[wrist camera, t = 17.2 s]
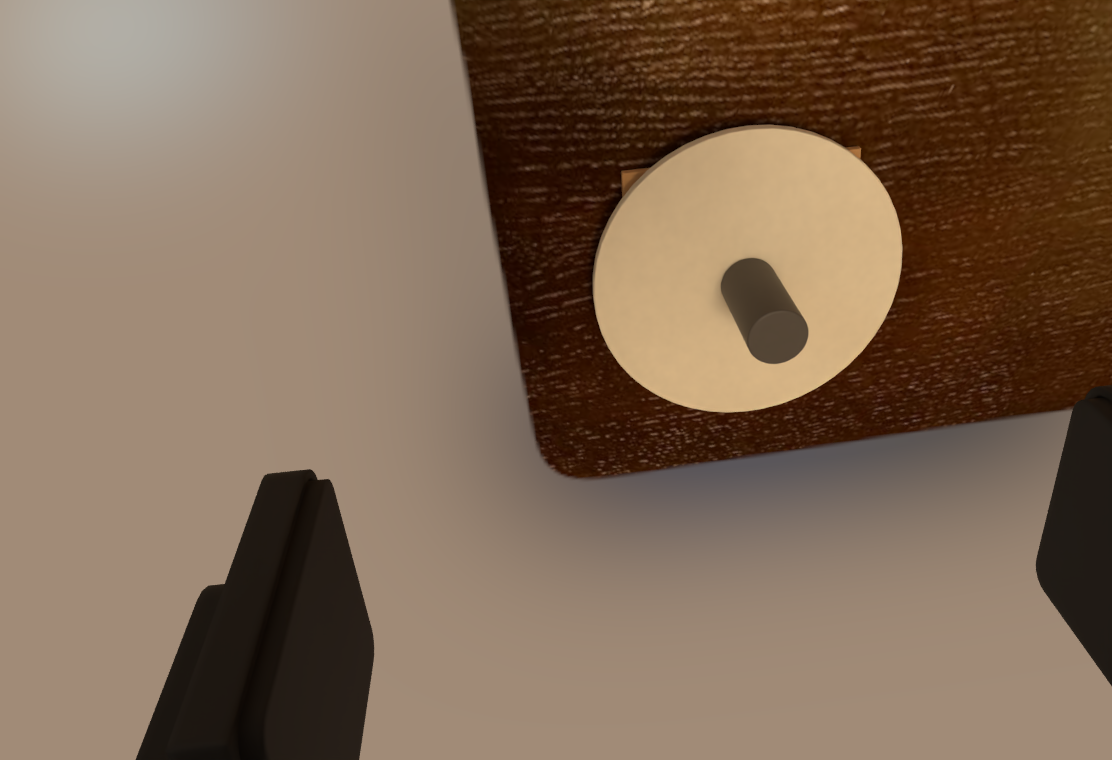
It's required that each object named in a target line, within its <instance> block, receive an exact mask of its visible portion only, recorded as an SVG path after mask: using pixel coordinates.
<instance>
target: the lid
mask: <svg viewBox="0 0 1112 760" xmlns="http://www.w3.org/2000/svg"><path fill="white" fill-rule="evenodd" d="M901 267H902V239H901V229H900V225H899V221H898V217H897V214H896V210H895V208H894V206H893V203H892V201H891V199H890V197H889V194H888V193H887V191H886V190H885V188H884V186H883V185H882V183H881V182H880V180H879V179H878V178H877V176H876V175H875V174H874V173H873V172H872V171H871V170H870V169H869V167H868V166H867V165H866V164H865V163H864V162H863V161H861V160H860V159H859V158H858V157H857V156H855V155H854V154H853V153H852V152H850V151H849V150H848V149H847V148H845V147H843V146H841V145H840V144H838V143H836V142H835V141H833V140H831V139H829V138H827V137H824V136H822V135H819V134H817V133H814V132H812V131H808V130H803V129H799V128H795V127H790V126H780V125H748V126H742V127H736V128H730V129H725V130H722V131H719V132H715V133H712V134H709V135H705V136H703V137H701V138H699V139H696V140H694V141H692V142H689V143H687V144H685V145H683V146H682V147H680V148H678V149H676V150H675V151H673V152H671V153H670V154H668V155H666V156H665V157H664V158H662V159H661V160H660V161H658V162H657V163H656V164H655V165H653V166H652V167H651V168H649V169H648V170H647V171H646V172H645V173H644V174H643V175H642V176H641V177H640V178H639V179H638V180H637V181H636V182H635V183H634V184H633V185H632V186H631V187H630V189H629V190H628V191H627V193H626V194H625V195H624V196H623V198H622V199H621V200H620V201H619V203H618V205H617V206H616V208H615V210H614V211H613V213H612V215H611V216H610V218H609V220H608V222H607V224H606V227H605V229H604V231H603V234H602V236H601V238H600V242H599V245H598V249H597V252H596V256H595V262H594V269H593V299H594V306H595V312H596V317H597V320H598V323H599V327H600V330H601V333H602V335H603V337H604V339H605V342H606V344H607V346H608V348H609V350H610V351H611V353H612V354H613V356H614V357H615V359H616V360H617V362H618V363H619V364H620V365H621V366H622V367H623V368H624V370H625V371H626V372H627V373H628V374H629V375H630V376H631V377H632V378H633V379H635V380H636V381H637V382H638V383H640V384H641V385H642V386H643V387H645V388H646V389H648V390H650V391H651V392H653V393H654V394H656V395H658V396H660V397H662V398H664V399H666V400H669V401H671V402H673V403H676V404H679V405H682V406H686V407H689V408H693V409H699V410H704V411H712V412H744V411H751V410H757V409H764V408H767V407H771V406H775V405H778V404H782V403H785V402H787V401H790V400H792V399H795V398H798V397H800V396H802V395H804V394H806V393H808V392H810V391H812V390H814V389H816V388H818V387H819V386H821V385H822V384H824V383H825V382H827V381H828V380H830V379H831V378H833V377H834V376H835V375H837V374H838V373H839V372H840V371H842V370H843V369H844V368H845V367H847V366H848V365H849V364H850V363H851V362H852V361H853V360H854V359H855V358H856V357H857V356H858V355H859V354H860V353H861V352H862V351H863V349H864V348H865V347H866V346H867V344H868V343H869V342H870V341H871V339H872V338H873V337H874V335H875V334H876V332H877V331H878V329H879V328H880V326H881V324H882V323H883V321H884V319H885V317H886V315H887V313H888V311H889V309H890V307H891V304H892V302H893V299H894V296H895V293H896V290H897V287H898V283H899V277H900V272H901Z"/></svg>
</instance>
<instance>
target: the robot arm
mask: <svg viewBox="0 0 1112 760" xmlns="http://www.w3.org/2000/svg"><path fill="white" fill-rule="evenodd" d="M1036 572H1037V576H1038V580H1039V582H1040V585H1041V587H1042V588H1043V590H1044V592H1045V593H1046V595H1047V596H1048V597H1049V599H1050V600H1051V602H1052V603H1053V604H1054V606H1055V607H1056V609H1057V610H1058V611H1059V613H1060V614H1061V616H1062V617H1063V618H1064V620H1065V621H1066V623H1067V624H1068V625H1069V627H1070V628H1071V630H1072V631H1073V632H1074V634H1075V635H1076V637H1077V638H1078V639H1079V641H1080V642H1081V644H1082V645H1083V646H1084V648H1085V649H1086V651H1087V652H1088V653H1089V655H1090V656H1091V658H1092V659H1093V660H1094V662H1095V663H1096V665H1097V666H1098V667H1099V669H1100V670H1101V671H1102V673H1103V674H1104V676H1105V677H1106V679H1107V680H1108V681H1109V683H1110V684H1111V686H1112V385H1109V386H1099V387H1095V388H1093V389H1091V390H1090V391H1089V392H1088V394H1087V395H1086V398H1085V400H1081V401H1078V402H1077V403H1076V405H1075V406H1074V408H1073V411H1072V415H1071V419H1070V423H1069V428H1068V431H1067V436H1066V440H1065V444H1064V448H1063V452H1062V456H1061V460H1060V465H1059V469H1058V473H1057V477H1056V481H1055V485H1054V489H1053V493H1052V498H1051V501H1050V505H1049V510H1048V514H1047V518H1046V522H1045V526H1044V530H1043V534H1042V539H1041V542H1040V546H1039V551H1038V555H1037V560H1036ZM373 660H374V640H373V633H372V628H371V625H370V621H369V617H368V613H367V610H366V606H365V602H364V598H363V595H362V591H361V587H360V584H359V580H358V577H357V573H356V569H355V565H354V562H353V558H352V554H351V550H350V547H349V543H348V539H347V536H346V532H345V528H344V524H343V521H342V517H341V514H340V510H339V506H338V503H337V499H336V495H335V491H334V488H333V485H332V483H331V481H330V480H329V479H324V480H317V477H316V475H315V473H314V472H313V471H312V470H310V469H309V470H300V471H290V472H281V473H272V474H267V475H265V476H264V478H263V479H262V481H261V484H260V487H259V490H258V492H257V496H256V498H255V501H254V504H253V506H252V509H251V512H250V515H249V518H248V521H247V523H246V526H245V529H244V532H243V534H242V537H241V540H240V543H239V546H238V548H237V551H236V554H235V557H234V560H233V562H232V565H231V568H230V571H229V574H228V576H227V580H226V582H225V584H221V585H211V586H208V587H206V588H205V589H204V590H203V591H202V592H201V594H200V596H199V598H198V600H197V602H196V604H195V607H194V610H193V612H192V615H191V618H190V620H189V623H188V625H187V628H186V630H185V633H184V636H183V638H182V641H181V644H180V646H179V649H178V652H177V654H176V656H175V659H174V662H173V664H172V667H171V669H170V672H169V675H168V677H167V680H166V682H165V685H164V688H163V690H162V693H161V695H160V698H159V701H158V703H157V706H156V708H155V711H154V713H153V716H152V719H151V721H150V724H149V726H148V729H147V732H146V734H145V737H144V739H143V742H142V745H141V747H140V750H139V753H138V755H137V758H136V760H359V756H360V749H361V743H362V736H363V729H364V722H365V715H366V708H367V702H368V694H369V688H370V681H371V674H372V667H373Z"/></svg>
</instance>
